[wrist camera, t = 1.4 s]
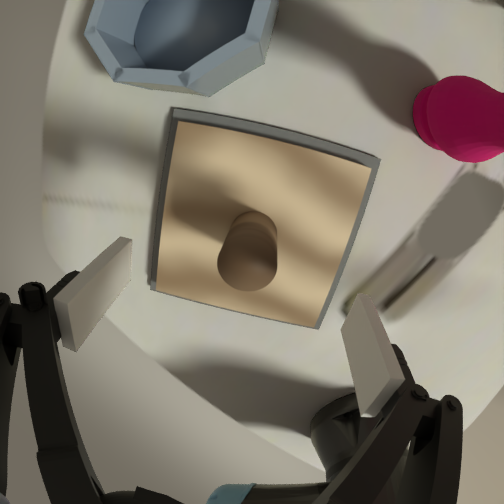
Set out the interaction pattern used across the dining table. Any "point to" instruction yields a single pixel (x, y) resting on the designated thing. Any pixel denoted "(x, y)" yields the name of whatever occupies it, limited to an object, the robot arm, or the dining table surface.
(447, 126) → the pepper mill
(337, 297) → the dining table surface
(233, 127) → the mat
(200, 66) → the bowl
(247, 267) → the lid
